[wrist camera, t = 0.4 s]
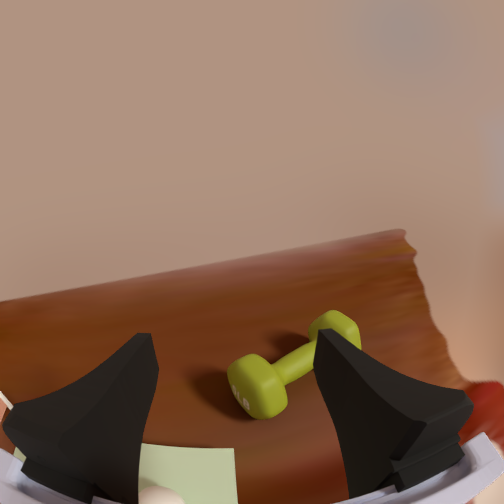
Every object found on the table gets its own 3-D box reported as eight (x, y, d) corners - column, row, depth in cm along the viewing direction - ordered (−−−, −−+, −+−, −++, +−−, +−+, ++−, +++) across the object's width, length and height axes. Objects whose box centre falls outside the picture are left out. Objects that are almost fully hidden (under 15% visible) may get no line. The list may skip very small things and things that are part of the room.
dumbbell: (260, 436, 24) (264, 404, 21) (221, 388, 30) (218, 349, 27) (358, 367, 33) (374, 329, 29) (318, 336, 38) (327, 297, 35)
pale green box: (244, 573, 9) (246, 590, 5) (15, 513, 7) (-48, 476, 2) (234, 456, 22) (231, 413, 17) (38, 424, 19) (-7, 371, 15)
